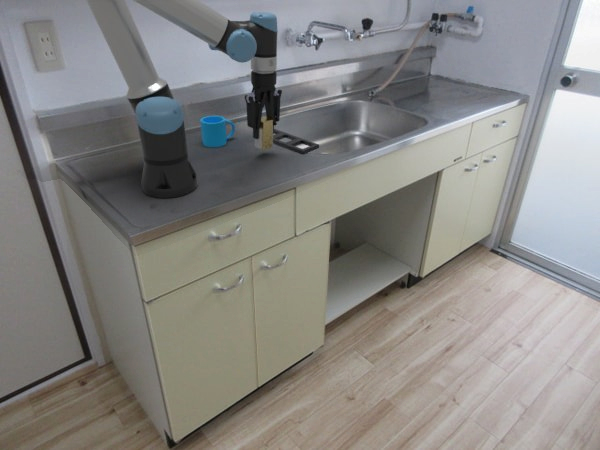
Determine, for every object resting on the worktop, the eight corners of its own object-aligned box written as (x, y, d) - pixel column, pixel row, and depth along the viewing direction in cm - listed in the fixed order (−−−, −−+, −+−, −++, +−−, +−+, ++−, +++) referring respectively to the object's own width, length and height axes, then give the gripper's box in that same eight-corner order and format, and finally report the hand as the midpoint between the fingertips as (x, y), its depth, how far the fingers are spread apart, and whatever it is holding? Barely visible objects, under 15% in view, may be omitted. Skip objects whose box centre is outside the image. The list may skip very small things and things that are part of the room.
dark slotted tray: (303, 154, 149) (303, 151, 148) (253, 135, 163) (253, 132, 162) (319, 147, 154) (319, 144, 153) (269, 130, 168) (269, 127, 167)
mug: (208, 149, 152) (206, 125, 148) (198, 141, 158) (196, 118, 153) (240, 142, 158) (239, 119, 153) (230, 135, 163) (228, 112, 159)
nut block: (263, 150, 144) (263, 122, 139) (254, 146, 146) (254, 119, 141) (272, 147, 146) (272, 119, 142) (263, 143, 149) (264, 116, 144)
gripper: (250, 77, 126) (251, 156, 138) (293, 69, 137) (290, 142, 149) (232, 72, 131) (235, 149, 143) (275, 64, 142) (274, 136, 154)
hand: (263, 145), depth 146 cm, fingers closed on nut block, 4 cm apart
